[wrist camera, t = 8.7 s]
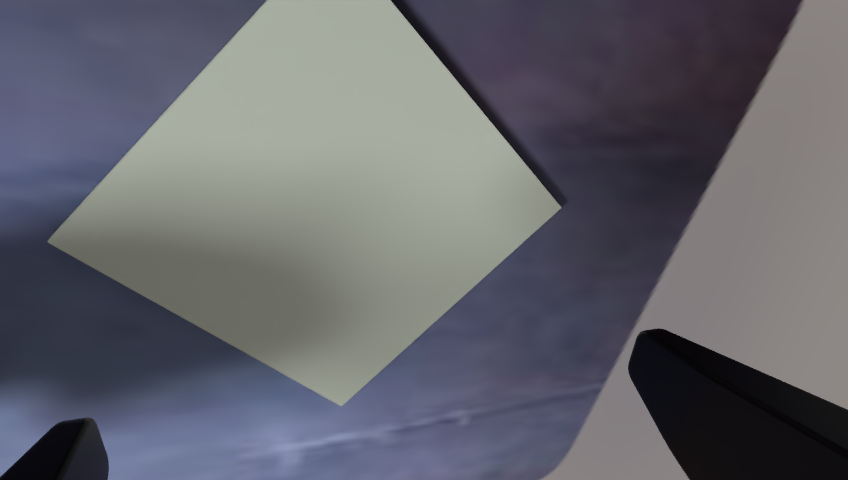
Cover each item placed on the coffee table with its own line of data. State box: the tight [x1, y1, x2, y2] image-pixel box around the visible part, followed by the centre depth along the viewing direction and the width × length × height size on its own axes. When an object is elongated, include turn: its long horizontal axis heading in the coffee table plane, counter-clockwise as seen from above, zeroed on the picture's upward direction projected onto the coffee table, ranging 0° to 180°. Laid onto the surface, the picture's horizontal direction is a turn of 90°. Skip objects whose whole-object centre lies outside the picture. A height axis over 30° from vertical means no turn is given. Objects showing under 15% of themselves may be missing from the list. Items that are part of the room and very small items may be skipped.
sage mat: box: [47, 0, 561, 406], centre depth 21 cm, size 14×14×1 cm
